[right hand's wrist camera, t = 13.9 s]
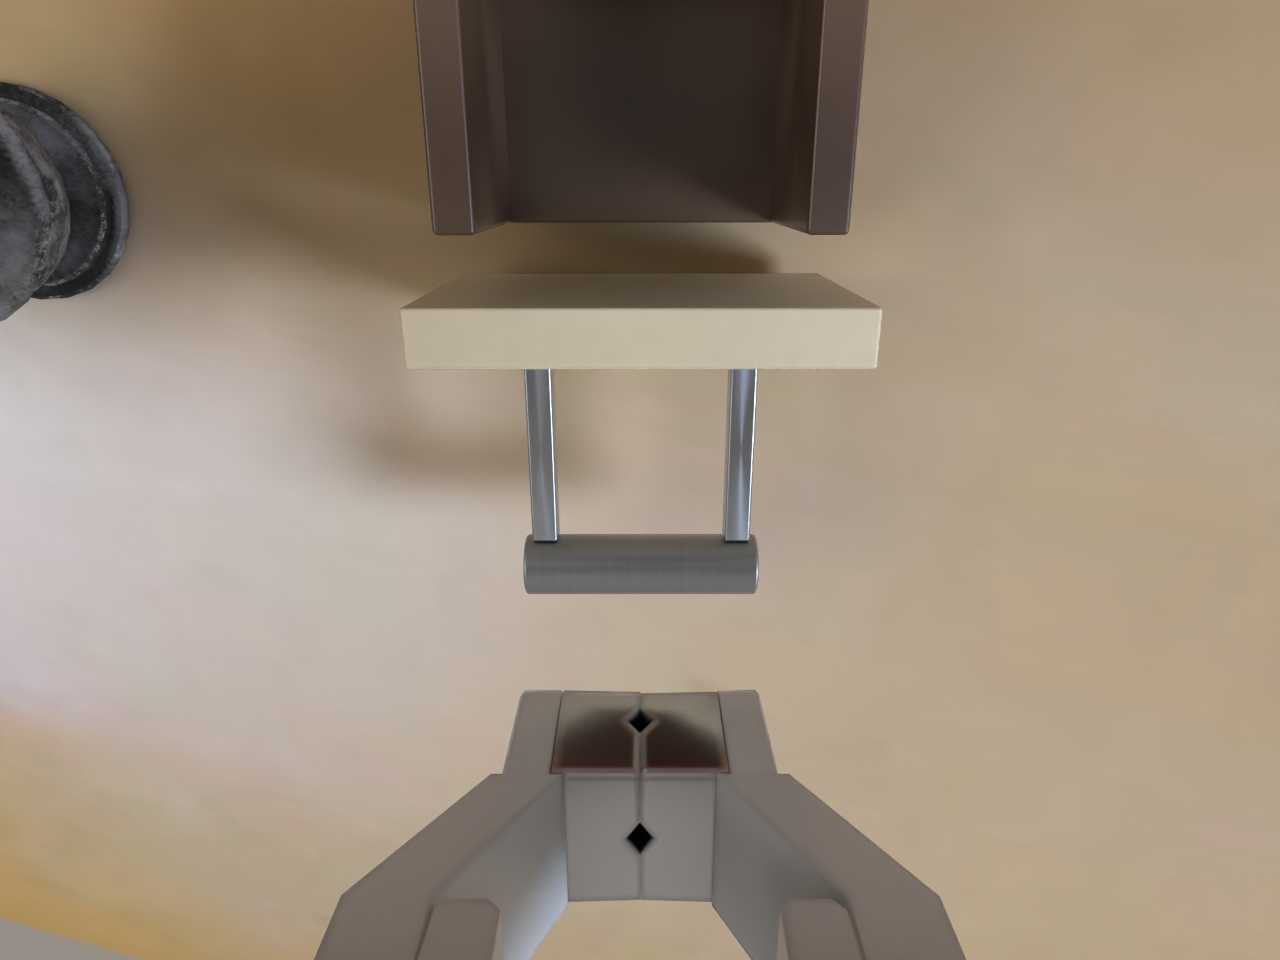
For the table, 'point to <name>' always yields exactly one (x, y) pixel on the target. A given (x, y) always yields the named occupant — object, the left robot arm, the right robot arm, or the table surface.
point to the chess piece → (54, 201)
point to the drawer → (640, 192)
